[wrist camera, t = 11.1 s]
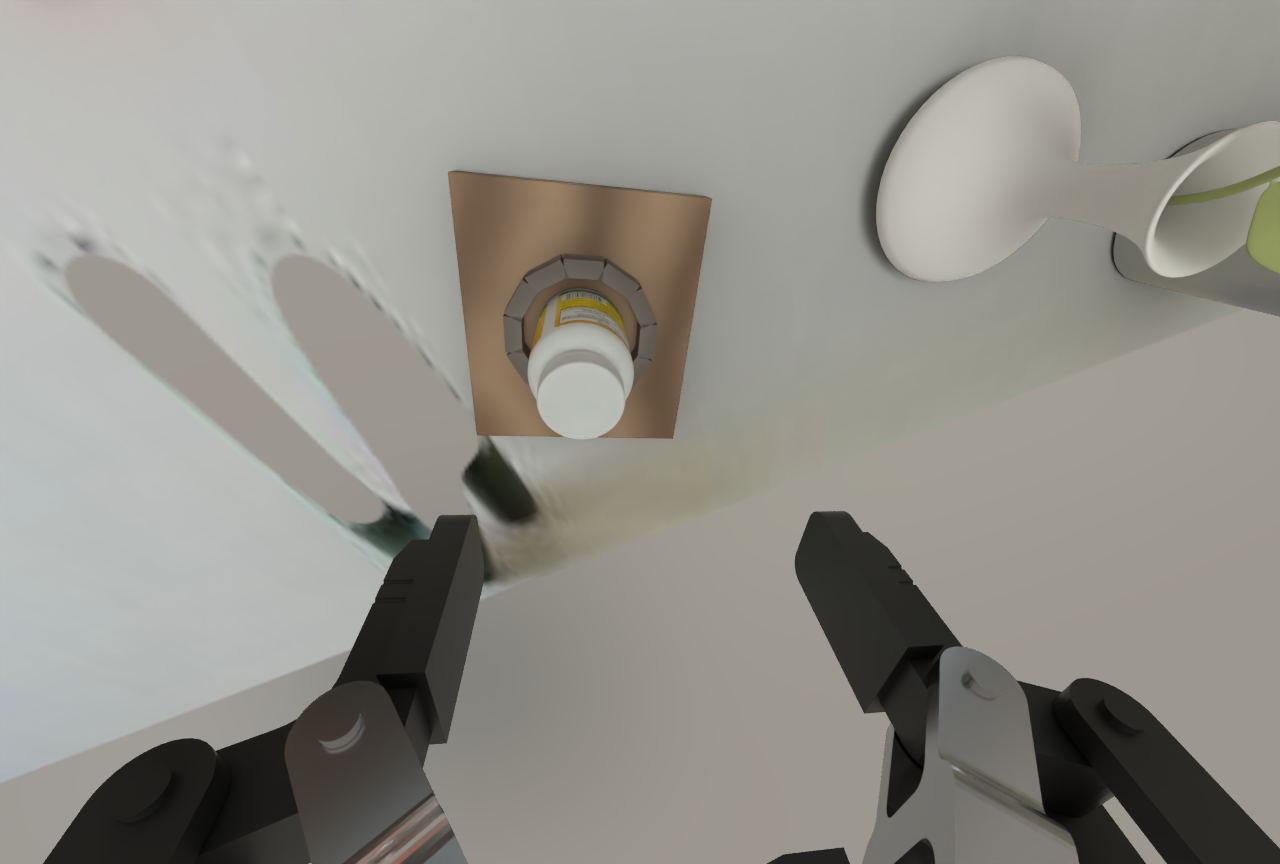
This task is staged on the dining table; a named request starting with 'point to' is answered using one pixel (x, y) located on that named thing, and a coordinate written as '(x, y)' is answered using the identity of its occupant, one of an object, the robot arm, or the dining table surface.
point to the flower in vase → (1062, 182)
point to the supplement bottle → (580, 364)
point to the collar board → (574, 258)
